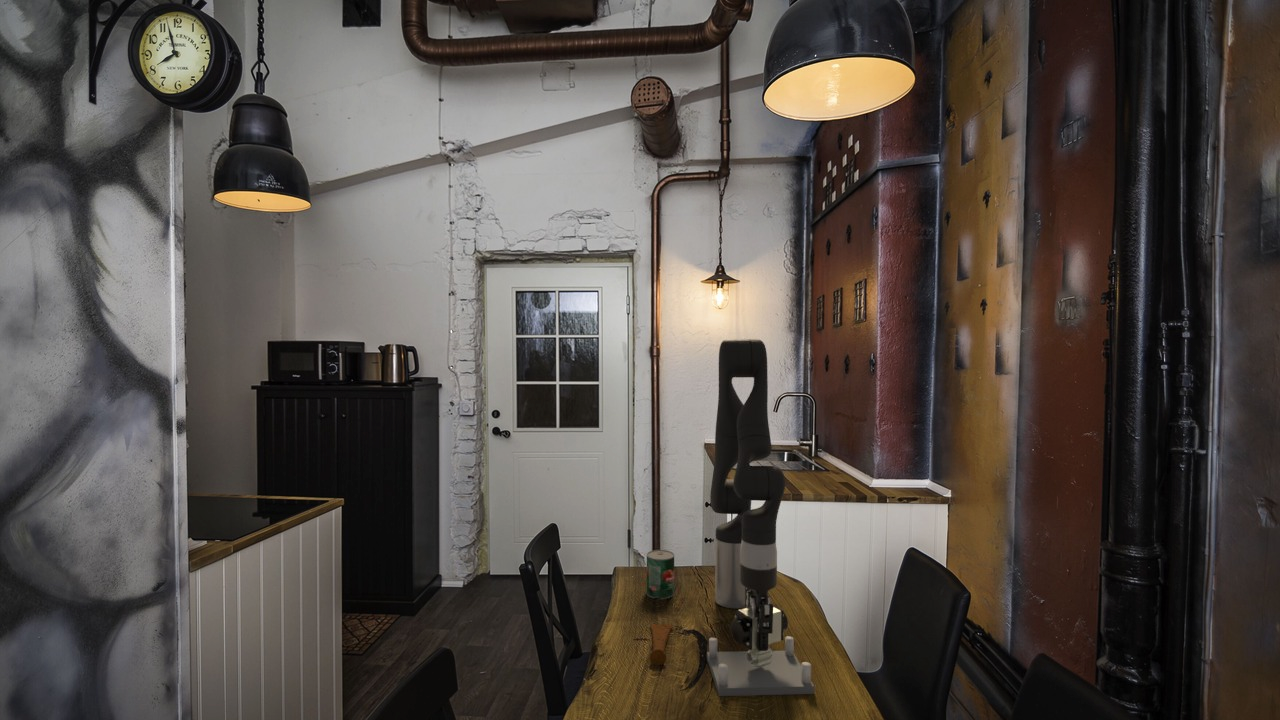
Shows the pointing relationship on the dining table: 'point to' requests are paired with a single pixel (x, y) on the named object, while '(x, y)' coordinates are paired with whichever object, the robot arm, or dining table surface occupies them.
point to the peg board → (759, 673)
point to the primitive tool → (659, 642)
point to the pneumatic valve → (747, 634)
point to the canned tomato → (660, 574)
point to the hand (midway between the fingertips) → (757, 641)
